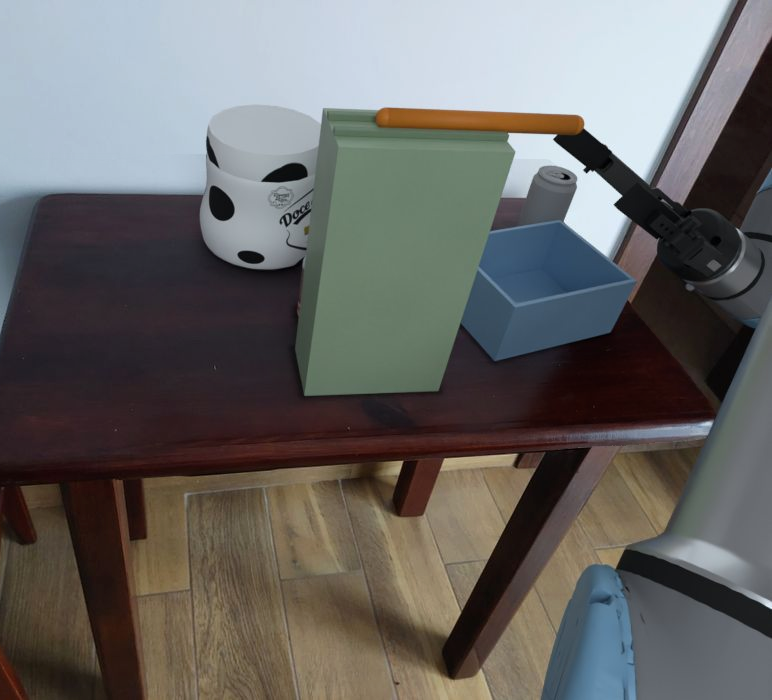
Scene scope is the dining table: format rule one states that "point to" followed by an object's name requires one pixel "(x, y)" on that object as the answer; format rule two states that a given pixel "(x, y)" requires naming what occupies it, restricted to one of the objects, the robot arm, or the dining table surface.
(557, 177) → the beverage can
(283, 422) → the dining table surface
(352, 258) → the stand
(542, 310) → the bin
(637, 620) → the robot arm
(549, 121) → the orange round-ended rod
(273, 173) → the doce de leite jar
